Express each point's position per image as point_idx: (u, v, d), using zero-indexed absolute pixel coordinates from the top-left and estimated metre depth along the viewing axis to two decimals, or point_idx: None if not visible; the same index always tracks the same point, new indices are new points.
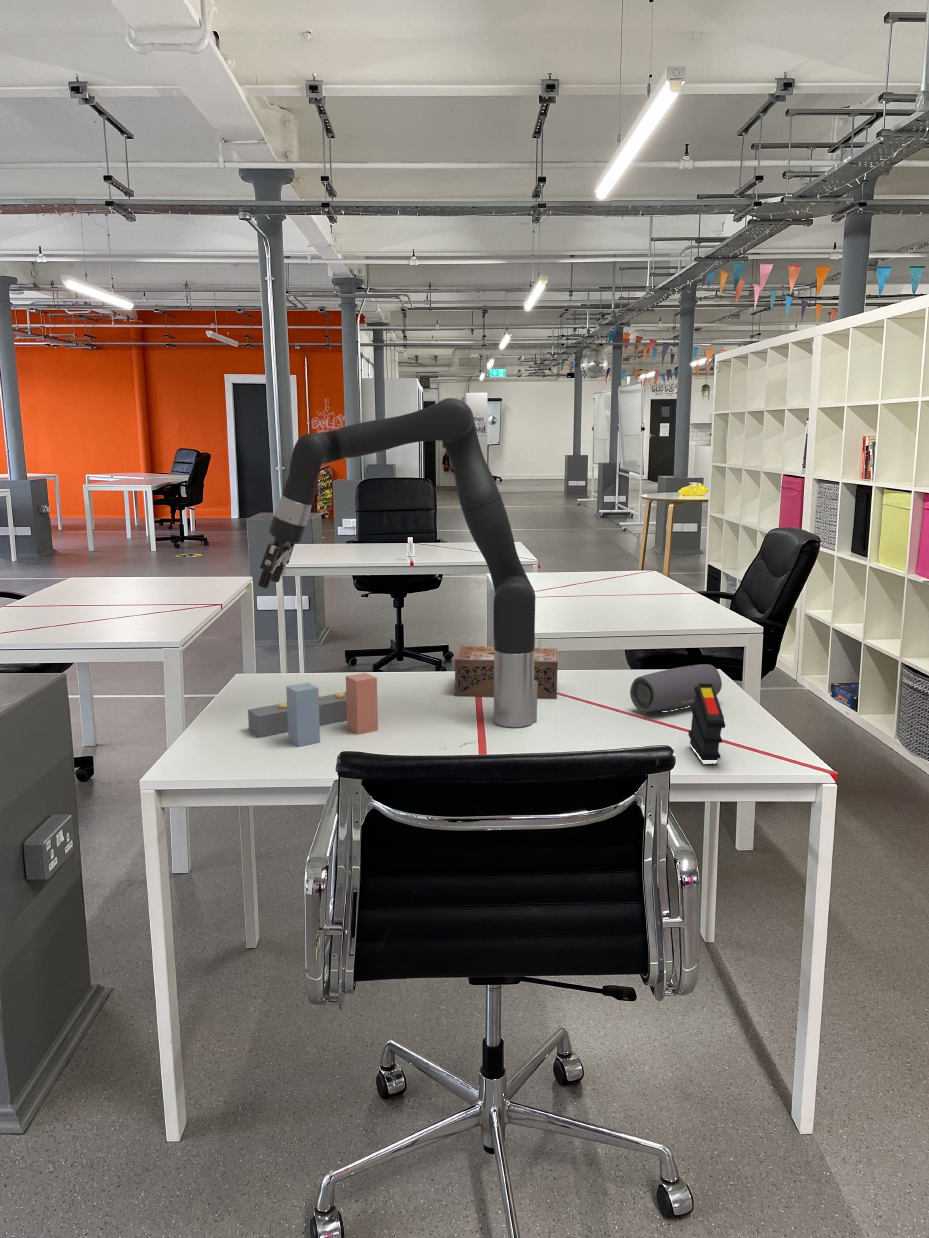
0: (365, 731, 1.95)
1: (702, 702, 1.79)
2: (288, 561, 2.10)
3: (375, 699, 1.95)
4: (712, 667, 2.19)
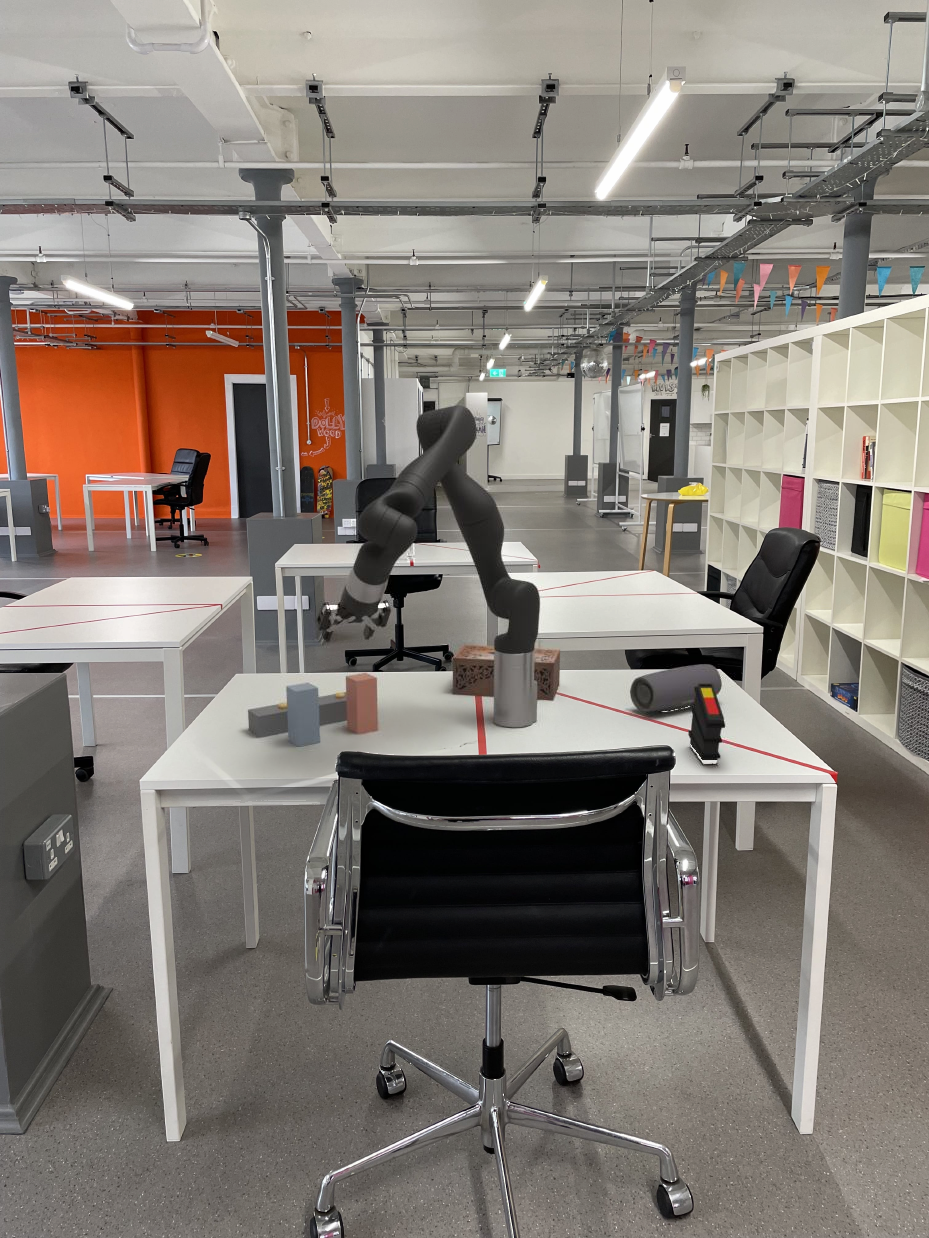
0: (365, 731, 1.95)
1: (702, 702, 1.79)
2: None
3: (375, 699, 1.95)
4: (712, 667, 2.19)
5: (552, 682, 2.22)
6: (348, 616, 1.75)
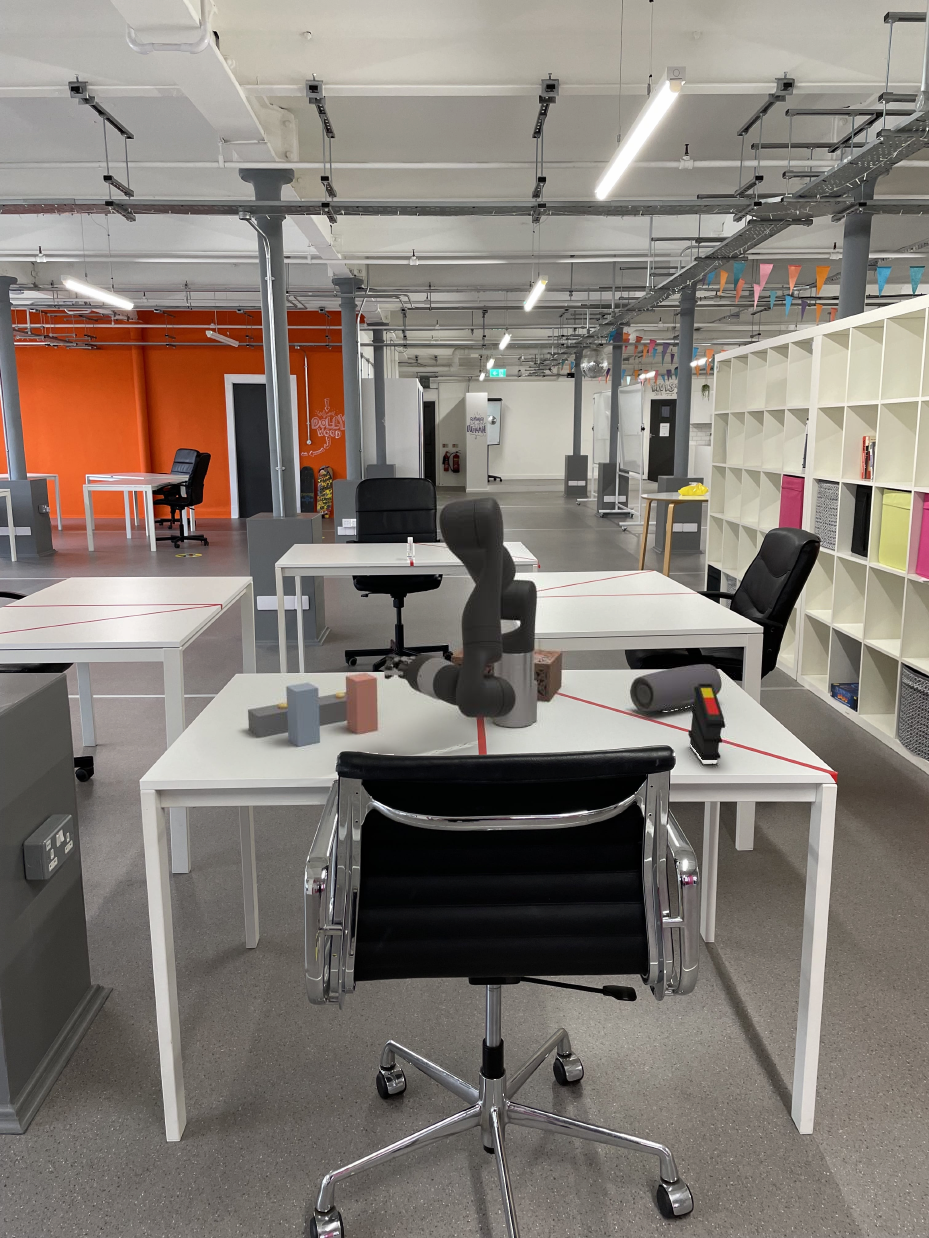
0: (365, 731, 1.95)
1: (702, 702, 1.79)
2: (391, 660, 1.77)
3: (375, 699, 1.95)
4: (712, 667, 2.19)
5: (548, 683, 2.21)
6: None
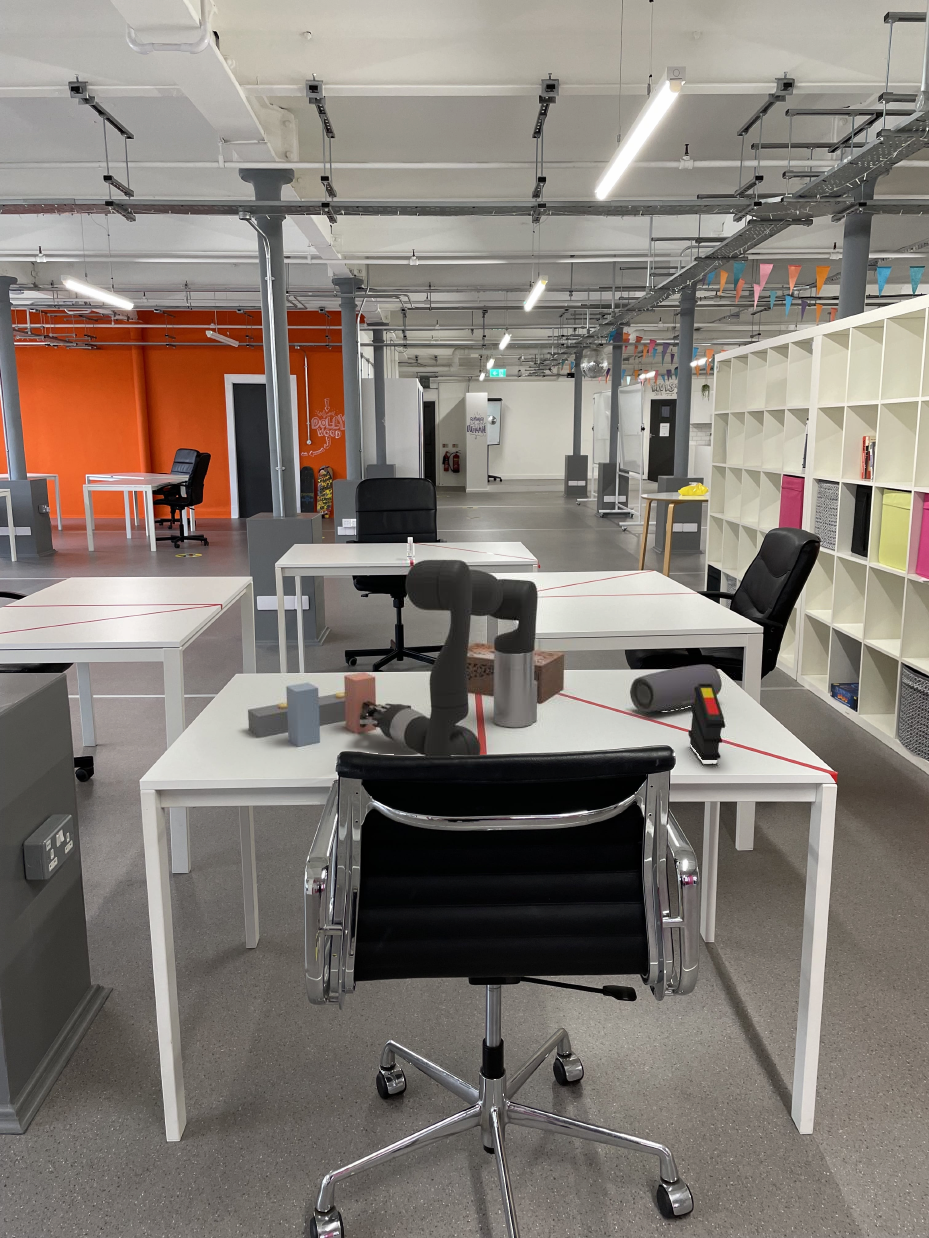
0: (363, 730, 1.95)
1: (702, 702, 1.79)
2: (367, 708, 1.89)
3: (373, 698, 1.95)
4: (712, 667, 2.19)
5: (540, 685, 2.19)
6: None
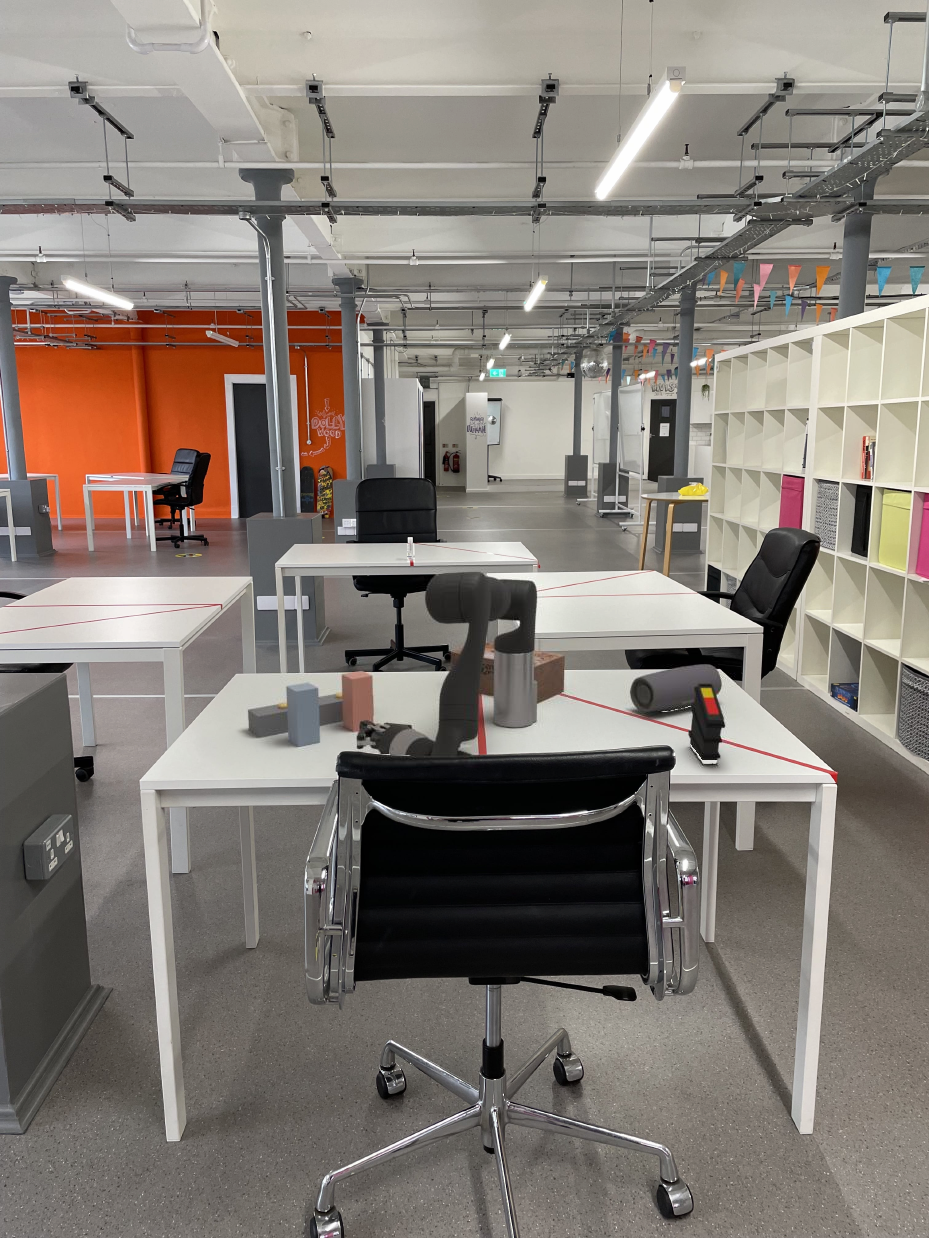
0: None
1: (702, 702, 1.79)
2: (364, 728, 1.75)
3: (371, 697, 1.97)
4: (712, 667, 2.19)
5: None
6: None
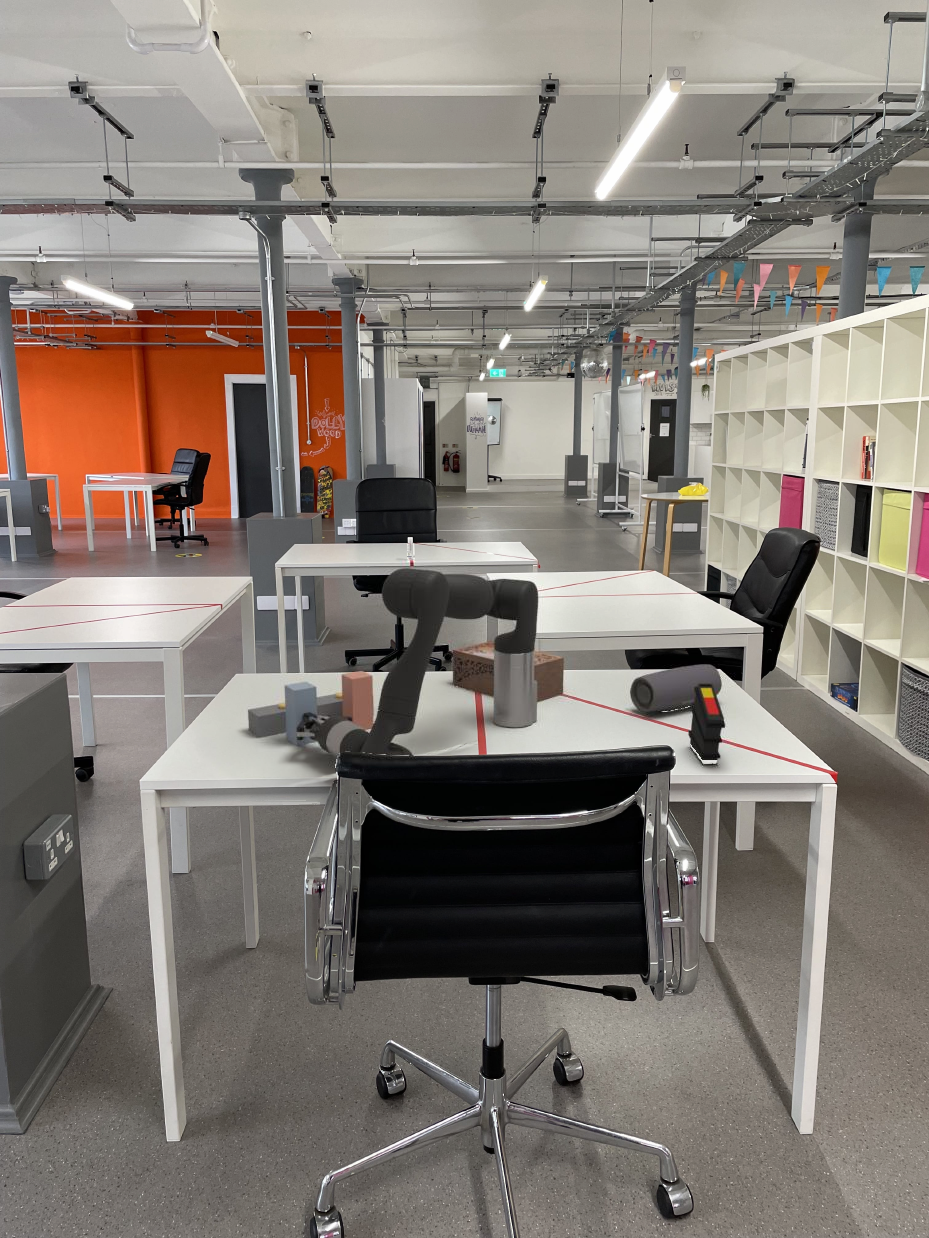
0: None
1: (702, 702, 1.79)
2: (305, 720, 1.81)
3: (371, 697, 1.97)
4: (712, 667, 2.19)
5: None
6: None
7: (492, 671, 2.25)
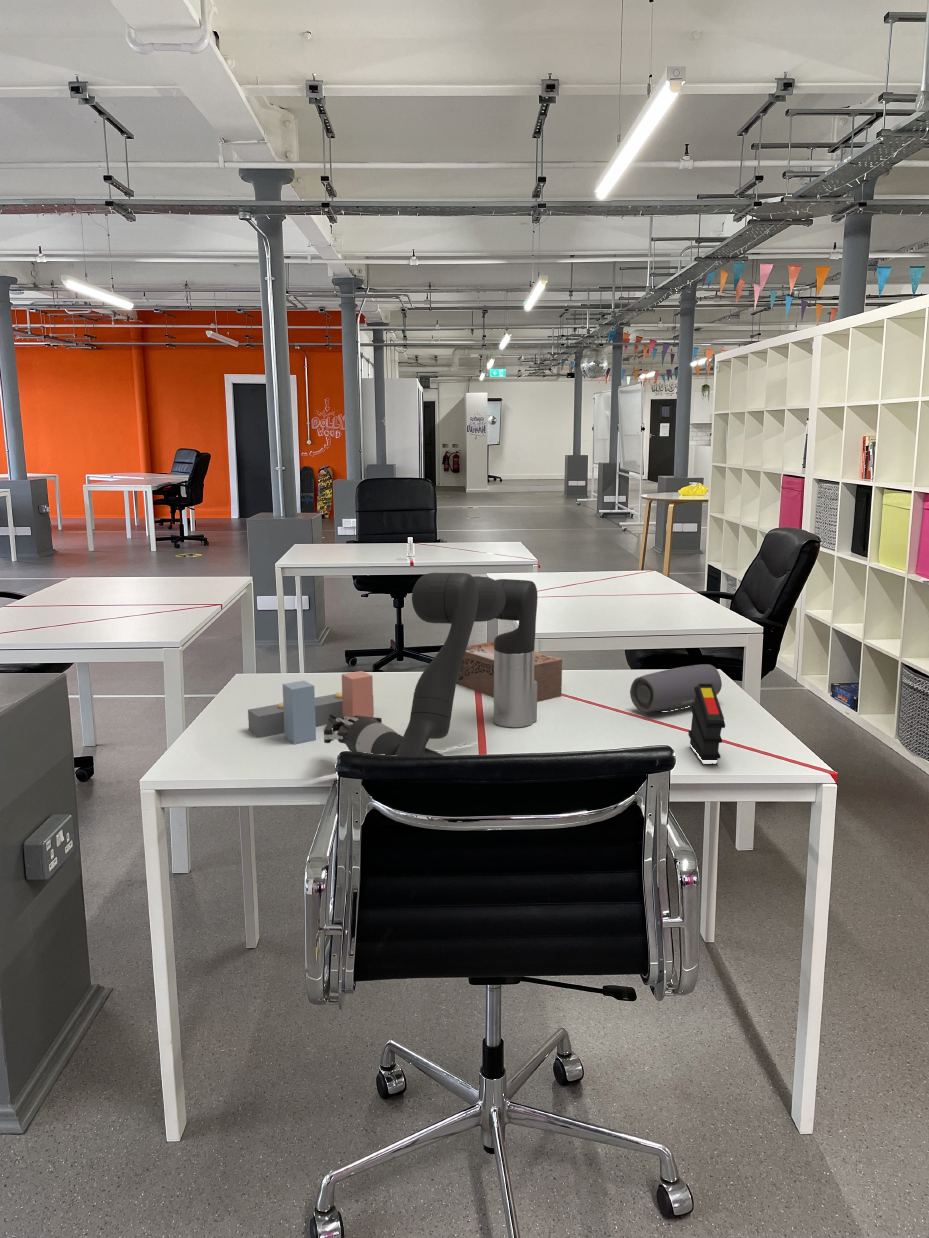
0: None
1: (702, 702, 1.79)
2: (332, 721, 1.72)
3: (371, 697, 1.97)
4: (712, 667, 2.19)
5: None
6: None
7: (489, 671, 2.25)
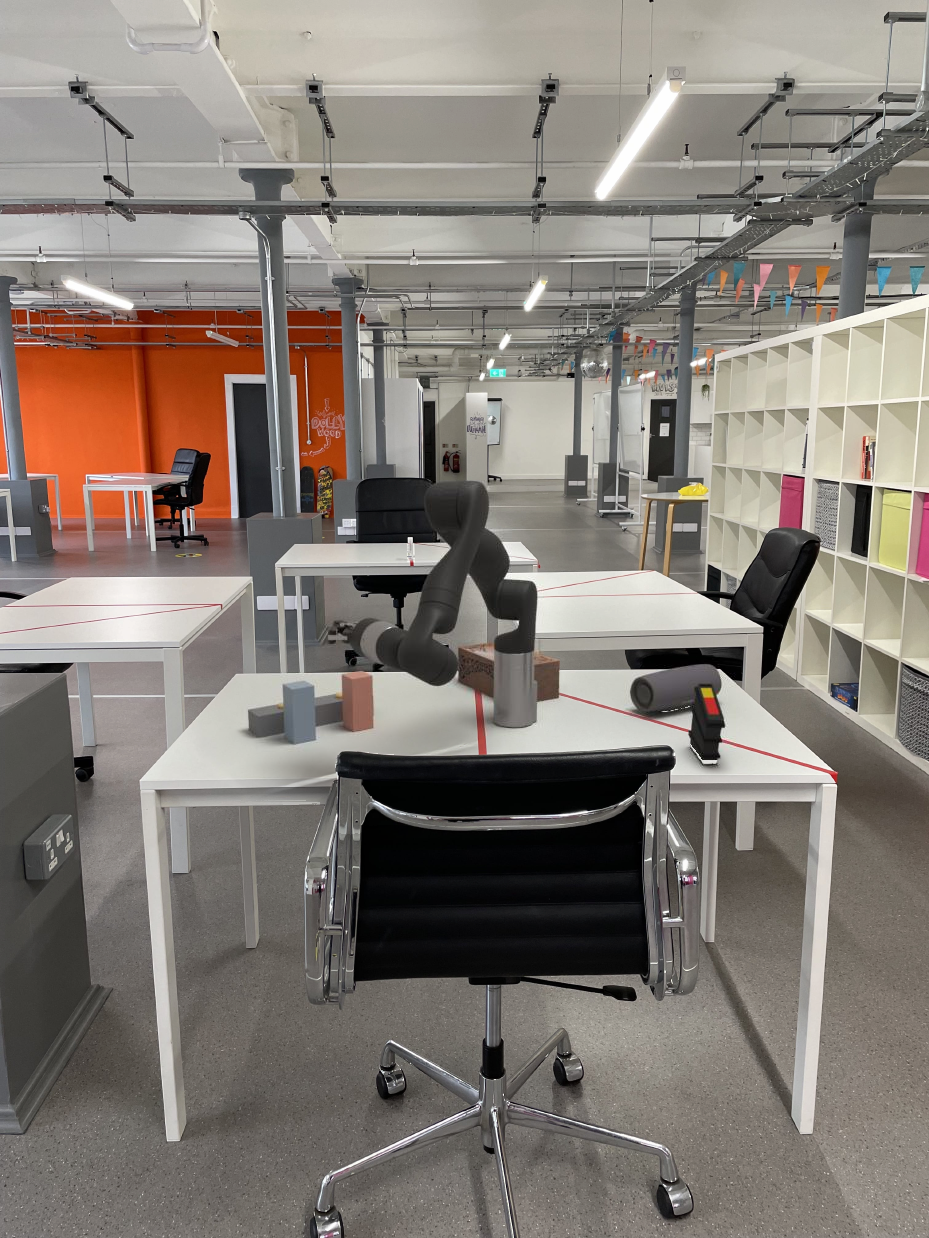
0: (361, 729, 1.96)
1: (702, 702, 1.79)
2: (337, 625, 1.71)
3: (371, 697, 1.97)
4: (712, 667, 2.19)
5: None
6: None
7: (487, 670, 2.26)
